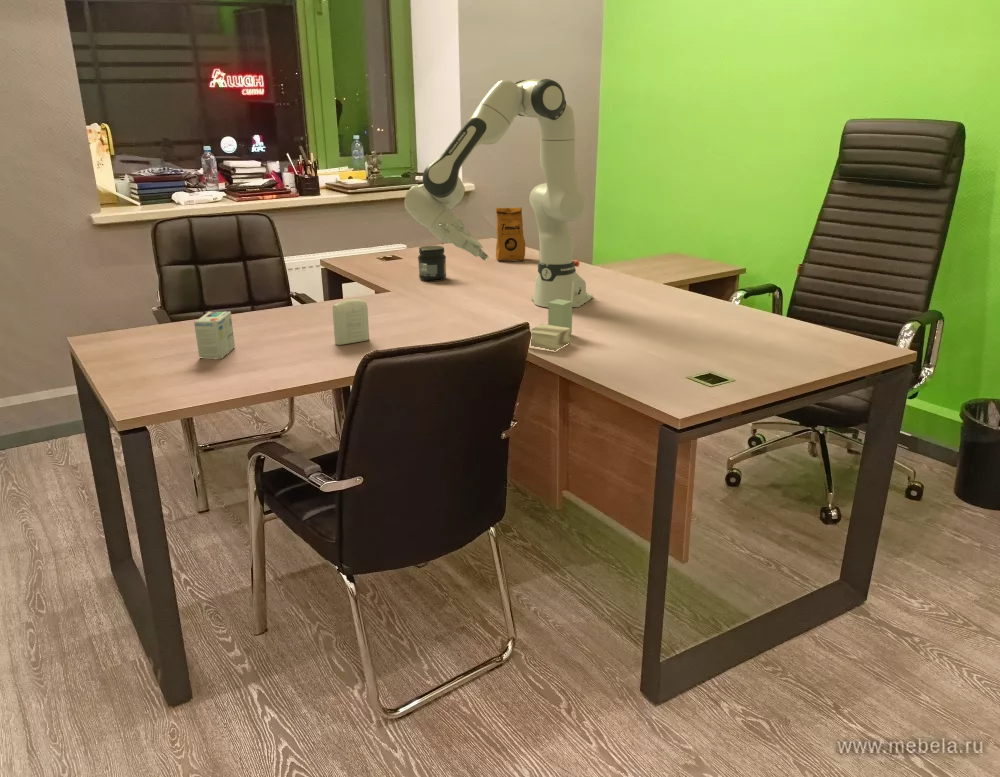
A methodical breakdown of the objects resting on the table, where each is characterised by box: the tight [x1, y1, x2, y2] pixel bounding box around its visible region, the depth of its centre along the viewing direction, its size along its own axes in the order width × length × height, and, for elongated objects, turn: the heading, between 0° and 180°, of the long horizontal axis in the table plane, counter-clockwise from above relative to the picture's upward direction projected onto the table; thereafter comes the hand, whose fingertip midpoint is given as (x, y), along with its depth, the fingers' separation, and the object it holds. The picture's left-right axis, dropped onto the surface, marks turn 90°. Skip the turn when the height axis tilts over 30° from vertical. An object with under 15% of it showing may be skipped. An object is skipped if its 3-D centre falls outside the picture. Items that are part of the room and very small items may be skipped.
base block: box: [530, 323, 571, 351], centre depth 228 cm, size 9×9×5 cm
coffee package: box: [495, 207, 526, 261], centre depth 340 cm, size 10×12×22 cm
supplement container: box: [417, 245, 447, 282], centre depth 309 cm, size 10×10×12 cm
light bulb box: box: [193, 311, 236, 358], centre depth 224 cm, size 11×7×11 cm, turn 178°
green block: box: [547, 299, 573, 334], centre depth 237 cm, size 5×5×10 cm
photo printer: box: [332, 298, 370, 346], centre depth 233 cm, size 10×4×12 cm, turn 123°
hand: (482, 256), depth 240 cm, fingers open, 8 cm apart
